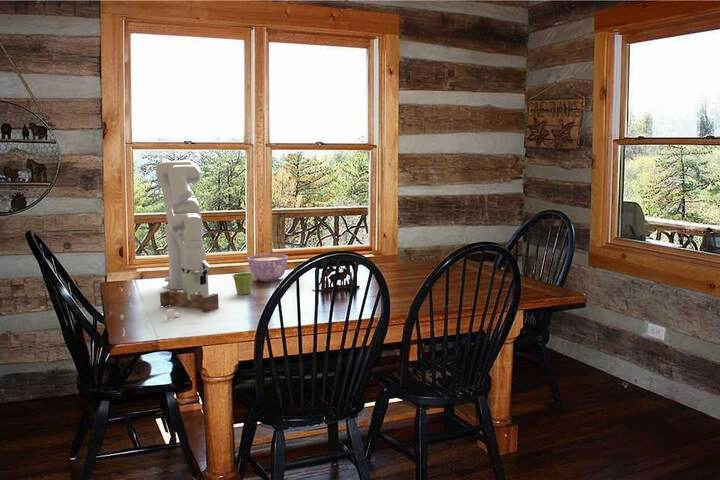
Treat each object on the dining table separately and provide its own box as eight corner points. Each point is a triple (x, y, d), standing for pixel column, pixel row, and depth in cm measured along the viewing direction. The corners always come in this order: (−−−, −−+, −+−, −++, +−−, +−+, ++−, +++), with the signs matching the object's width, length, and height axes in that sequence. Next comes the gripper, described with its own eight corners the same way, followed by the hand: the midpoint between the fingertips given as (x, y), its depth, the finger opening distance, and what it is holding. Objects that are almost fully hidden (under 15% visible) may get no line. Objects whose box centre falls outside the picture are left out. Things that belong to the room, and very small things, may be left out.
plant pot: (249, 296, 308) (249, 277, 307) (230, 295, 310) (229, 276, 309) (257, 291, 318) (256, 273, 316) (237, 291, 319) (237, 272, 318)
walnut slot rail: (160, 306, 291) (159, 292, 290) (173, 302, 298) (172, 289, 297) (206, 312, 280) (205, 297, 279) (218, 308, 287) (218, 293, 286)
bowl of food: (286, 284, 333) (285, 260, 332) (244, 284, 334) (243, 260, 332) (290, 276, 353) (290, 253, 352) (251, 276, 354) (250, 254, 352)
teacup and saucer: (174, 316, 276) (174, 306, 276) (186, 319, 271) (186, 309, 271) (155, 320, 270) (155, 310, 269) (168, 323, 265) (167, 313, 264)
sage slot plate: (183, 301, 299) (182, 274, 297) (204, 295, 311) (203, 269, 310) (187, 302, 298) (186, 275, 296) (208, 295, 310) (207, 269, 309)
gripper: (172, 244, 302) (174, 283, 304) (204, 246, 294) (205, 286, 297) (184, 241, 308) (186, 280, 311) (215, 243, 301) (217, 283, 303)
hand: (195, 283), depth 304 cm, fingers open, 7 cm apart
